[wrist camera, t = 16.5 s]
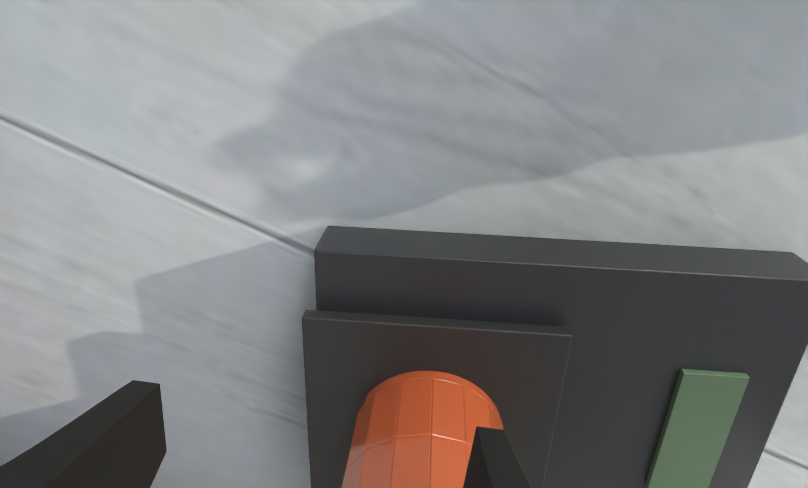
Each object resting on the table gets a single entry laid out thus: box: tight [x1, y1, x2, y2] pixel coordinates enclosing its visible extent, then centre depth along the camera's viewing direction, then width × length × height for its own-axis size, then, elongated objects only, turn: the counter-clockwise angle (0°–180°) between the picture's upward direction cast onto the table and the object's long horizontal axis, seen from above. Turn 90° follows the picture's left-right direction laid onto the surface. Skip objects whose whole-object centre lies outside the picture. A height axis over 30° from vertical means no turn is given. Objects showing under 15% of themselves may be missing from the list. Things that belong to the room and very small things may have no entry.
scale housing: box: [314, 226, 808, 488], centre depth 22 cm, size 18×14×3 cm
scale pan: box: [302, 310, 572, 488], centre depth 21 cm, size 10×10×1 cm
